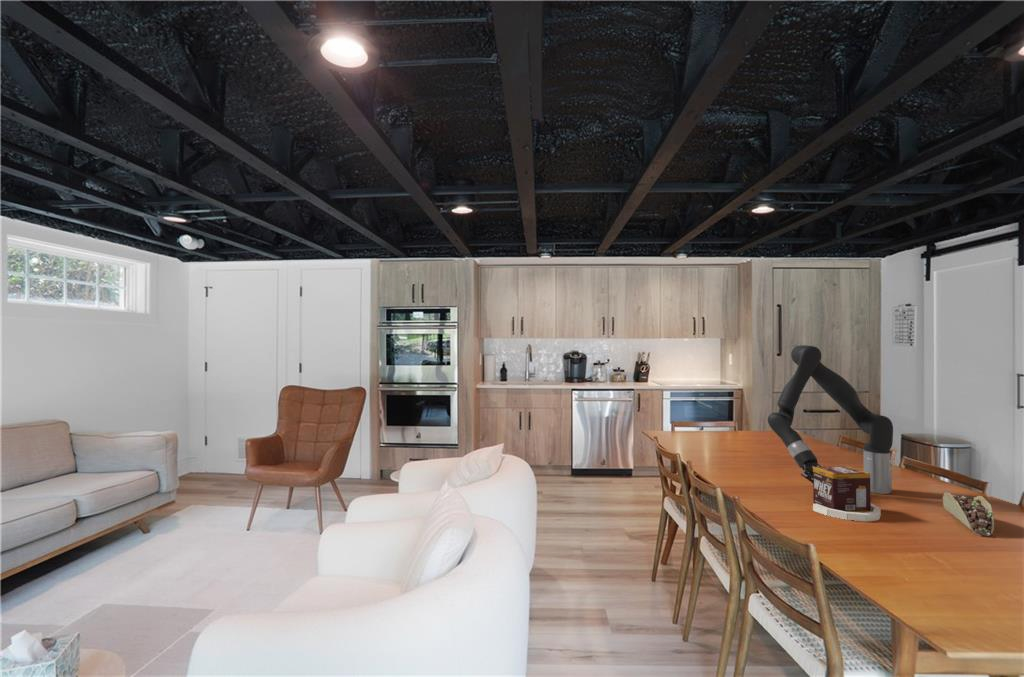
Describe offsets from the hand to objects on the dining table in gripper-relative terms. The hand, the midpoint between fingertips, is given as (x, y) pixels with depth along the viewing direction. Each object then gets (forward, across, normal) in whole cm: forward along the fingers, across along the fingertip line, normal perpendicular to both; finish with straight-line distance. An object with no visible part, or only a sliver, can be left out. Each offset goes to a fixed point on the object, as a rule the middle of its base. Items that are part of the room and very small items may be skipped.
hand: (828, 492), depth 185 cm
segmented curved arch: (+11, 0, -4) cm, 11 cm away
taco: (+24, +30, -16) cm, 42 cm away
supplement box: (+8, -1, 0) cm, 8 cm away
